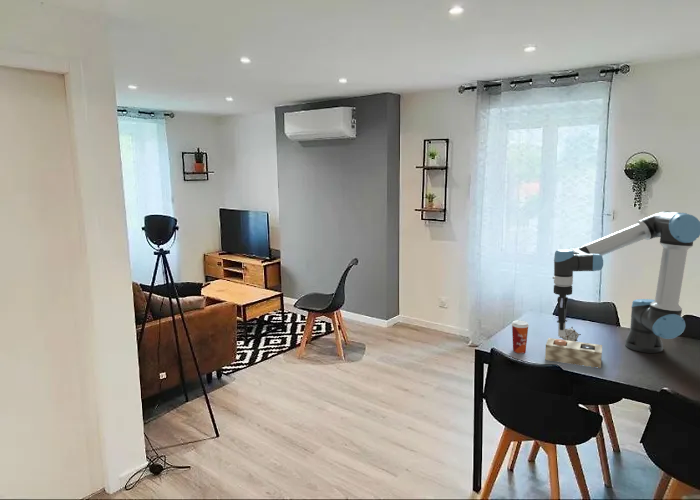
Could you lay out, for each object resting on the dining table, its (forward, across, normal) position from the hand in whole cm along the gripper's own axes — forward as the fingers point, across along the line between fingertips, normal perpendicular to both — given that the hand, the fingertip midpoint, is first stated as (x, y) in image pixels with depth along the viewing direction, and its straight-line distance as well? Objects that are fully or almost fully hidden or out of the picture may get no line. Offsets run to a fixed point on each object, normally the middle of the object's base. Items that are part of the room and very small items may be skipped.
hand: (561, 336), depth 209 cm
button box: (+10, 0, +5) cm, 12 cm away
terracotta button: (+8, 0, -1) cm, 8 cm away
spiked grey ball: (+11, -21, +2) cm, 23 cm away
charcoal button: (+9, 0, +10) cm, 14 cm away
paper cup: (+10, -1, -18) cm, 21 cm away
